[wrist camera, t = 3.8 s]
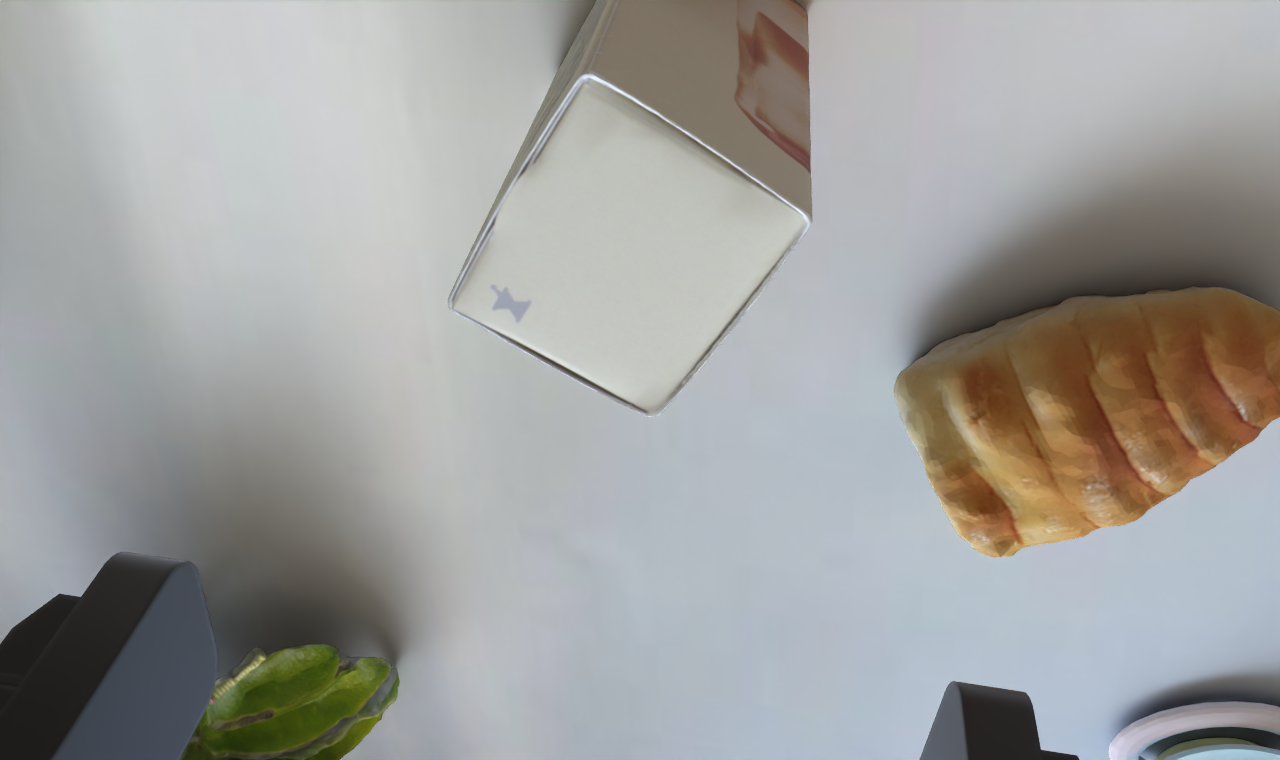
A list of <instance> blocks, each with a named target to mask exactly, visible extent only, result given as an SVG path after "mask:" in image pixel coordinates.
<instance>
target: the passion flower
mask: <svg viewBox="0 0 1280 760" xmlns="http://www.w3.org/2000/svg"><path fill="white" fill-rule="evenodd" d="M398 686H399V678H398V671H397V667H395V666H394V667H392V668H391V665H390V663H388V662H387V661H386V660H384V659H382V658H375V657H356V658H349V657H346V656H344V655H343V654H342V653H341V652H340V651H339V650H338V649H337V648H336V647H334V646H329V645H327V644H320V645H315V644H312V645H302V646H295V647H291V648H285V649H281V650H278V651H276V652H273V653H271V654H269V655H267V656H266V654H265V653H264V652H263V650H262V649H260V648H254V649H253V650H252V651H250V652H249V653H248V654H247V655H246V657H245V658H244V659H243V661H242V662H241V663H240V664H239V665H238V666H237V667H235V668H234V669H233V670H231V671H230V672H229V673H227V674H226V675H224V676H223V677H221V678H219V679H218V680H216V682H215V686H214V690H213V693H212V696H211V699H210V701H209V704H208V706H207V708H206V710H205V712H204V714H203V716H202V718H201V720H200V722H199V724H198V725H197V727H196V729H195V731H194V733H193V735H192V737H191V739H190V740H189V742H188V744H187V746H186V748H185V750H184V752H183V754H182V755H181V757H180V759H179V760H340V759H341V758H342V757H343V756H344V755H346V754H347V753H348V752H350V751H351V750H352V749H354V748H355V747H356V746H357V745H358V744H359V743H360V742H361V741H362V739H363V738H364V737H365V736H366V735H367V734H368V733H369V732H370V731H371V729H372V728H373V726H374V725H375V724H376V723H377V722H378V721H379V720H381V718H382V714H383V712H384V711H385V710H386V709H387V708H388V706H389V705H390V704H392V703H393V702H394V701H396V698H397V694H398Z"/></svg>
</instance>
